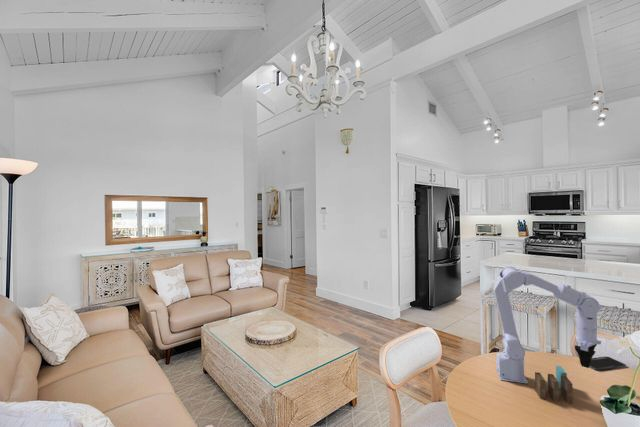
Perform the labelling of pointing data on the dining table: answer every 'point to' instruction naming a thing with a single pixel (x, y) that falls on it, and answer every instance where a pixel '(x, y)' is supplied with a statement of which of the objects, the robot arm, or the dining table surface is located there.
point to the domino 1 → (540, 385)
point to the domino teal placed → (560, 372)
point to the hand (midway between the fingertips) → (586, 362)
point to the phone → (605, 364)
